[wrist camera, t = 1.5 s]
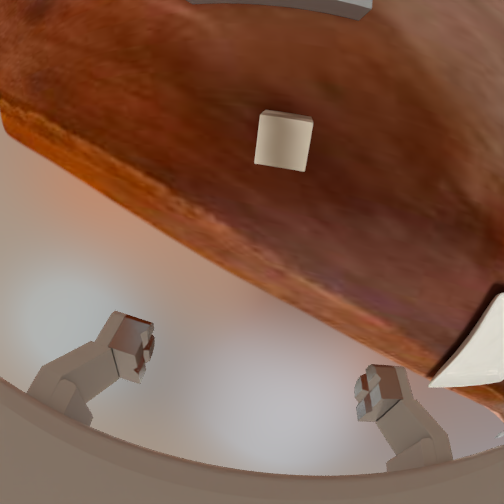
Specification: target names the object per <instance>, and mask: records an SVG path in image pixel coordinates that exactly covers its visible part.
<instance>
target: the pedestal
mask: <svg viewBox="0 0 504 504" xmlns="http://www.w3.org/2000/svg"><path fill="white" fill-rule="evenodd" d="M187 1H188V2H190V3H192V4H207V3H240V4H260V5H273V6H282V7H291V8H298V9H305V10H311V11H317V12H323V13H328V14H333V15H337V16H342V17H346V18H350V19H354V20H358V21H359V20H360V19H361V18H362V17H363V16H364V15H366V14H367V13H368V12H369V11H370V10H371V9H372V0H187Z"/></svg>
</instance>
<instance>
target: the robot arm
mask: <svg viewBox="0 0 504 504" xmlns="http://www.w3.org/2000/svg"><path fill="white" fill-rule="evenodd" d="M153 330H154V324H153V323H151V322H148V321H145V320H142V319H139V318H136V317H133V316H130V315H127V314H124V313H121V312H118V311H114V312H113V313H112V314H111V315H110V317H109V319H108V320H107V322H106V324H105V325H104V327H103V329H102V330H101V332H100V334H99V335H98V337H97V339H96V340H95V342H92V341H90V342H88V343H86V344H84V345H82V346H81V347H79V348H77V349H75V350H73V351H71V352H69V353H67V354H65V355H64V356H61V357H59V358H57V359H55V360H54V361H51V362H50V363H48V364H46V365H44V366H42V367H41V369H40V371H39V372H38V374H37V376H36V377H35V379H34V381H33V382H32V384H31V386H30V388H29V389H28V391H27V393H25V392H23V391H21V390H19V389H18V388H17V387H15V386H14V385H12V384H10V383H9V382H7V381H6V380H4V379H3V378H2V377H0V504H504V445H500V446H497V447H495V448H492V449H489V450H486V451H483V452H480V453H476V454H473V455H470V456H466V457H463V458H459V459H455V460H453V457H452V452H451V447H450V443H449V438H448V434H447V433H446V432H445V431H444V430H443V429H442V428H441V426H440V425H439V424H438V423H437V422H436V421H435V420H434V419H433V417H432V416H431V415H430V414H429V413H428V412H427V411H426V410H425V409H424V408H423V406H422V405H421V404H420V403H419V402H418V401H417V400H414V398H413V394H412V390H411V387H410V383H409V380H408V376H407V372H406V369H405V368H404V367H399V366H388V365H375V364H371V365H369V366H368V367H367V369H366V374H364V375H362V376H360V377H359V379H358V380H357V382H356V385H355V391H354V393H355V398H356V400H357V401H358V402H359V403H358V405H357V407H356V410H357V417H358V421H367V422H376V424H377V426H378V427H379V429H380V430H381V432H382V434H383V435H384V437H385V438H386V440H387V441H388V443H389V445H390V446H391V448H392V449H393V451H394V452H395V454H396V456H395V457H394V458H392V459H390V460H389V461H388V462H387V463H386V466H387V472H384V473H374V474H361V475H340V476H308V475H286V474H273V473H263V472H254V471H246V470H239V469H233V468H227V467H221V466H216V465H211V464H205V463H201V462H196V461H192V460H187V459H184V458H180V457H176V456H172V455H168V454H164V453H161V452H158V451H154V450H151V449H148V448H145V447H142V446H139V445H136V444H133V443H130V442H127V441H124V440H122V439H119V438H116V437H114V436H111V435H109V434H106V433H104V432H101V431H99V430H97V429H94V428H92V427H90V424H91V421H92V419H93V416H92V414H91V412H90V411H89V408H88V407H87V405H86V403H87V402H88V401H89V400H91V399H92V398H93V397H95V396H96V395H98V394H99V393H100V392H102V391H103V390H104V389H106V388H107V387H109V386H110V385H111V384H113V383H114V382H115V381H117V380H118V379H119V377H120V378H123V379H126V380H129V381H132V382H136V383H139V384H141V381H142V379H143V376H144V374H145V371H146V366H145V363H147V362H148V361H150V359H151V356H152V353H153V350H154V344H155V340H154V339H155V338H154V336H153V335H152V333H153Z"/></svg>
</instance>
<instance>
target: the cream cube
mask: <svg viewBox="0 0 504 504" xmlns="http://www.w3.org/2000/svg"><path fill="white" fill-rule="evenodd" d="M312 129H313V120H312V117H309V116H304V115H298V114H292V113H286V112H280V111H273V110H265V111H263V112H262V113H261V114H260V119H259V127H258V136H257V144H256V152H255V161H254V164H261V165H267V166H274V167H280V168H286V169H291V170H297V171H303V172H305V167H306V162H307V157H308V151H309V146H310V140H311V134H312Z"/></svg>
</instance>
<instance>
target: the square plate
mask: <svg viewBox="0 0 504 504" xmlns="http://www.w3.org/2000/svg"><path fill="white" fill-rule="evenodd" d="M503 379H504V292H503V293H500V294H497V295H496V296H495V297H494V298H493V300H492V301H491V303H490V304H489V306H488V307H487V309H486V310H485V312H484V313H483V315H482V316H481V318H480V319H479V321H478V322H477V324H476V325H475V327H474V328H473V330H472V331H471V332H470V334H469V335H468V337H467V338H466V339H465V340H464V342H463V343H462V344H461V345H460V347H459V348H458V349H457V350H456V352H455V353H454V354H453V355H452V356H451V357H450V358H449V360H448V361H447V362H446V363H445V364H444V365H443V366H442V367H441V368H440V369H439V371H438V372H437V373H436V374H435V376H434V377H433V378H432V380H431V382H430V384H429V385H428V387H429V388H432V387H433V388H436V387H461V386H472V385H482V384H489V383H495V382H500V381H502V380H503Z"/></svg>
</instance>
